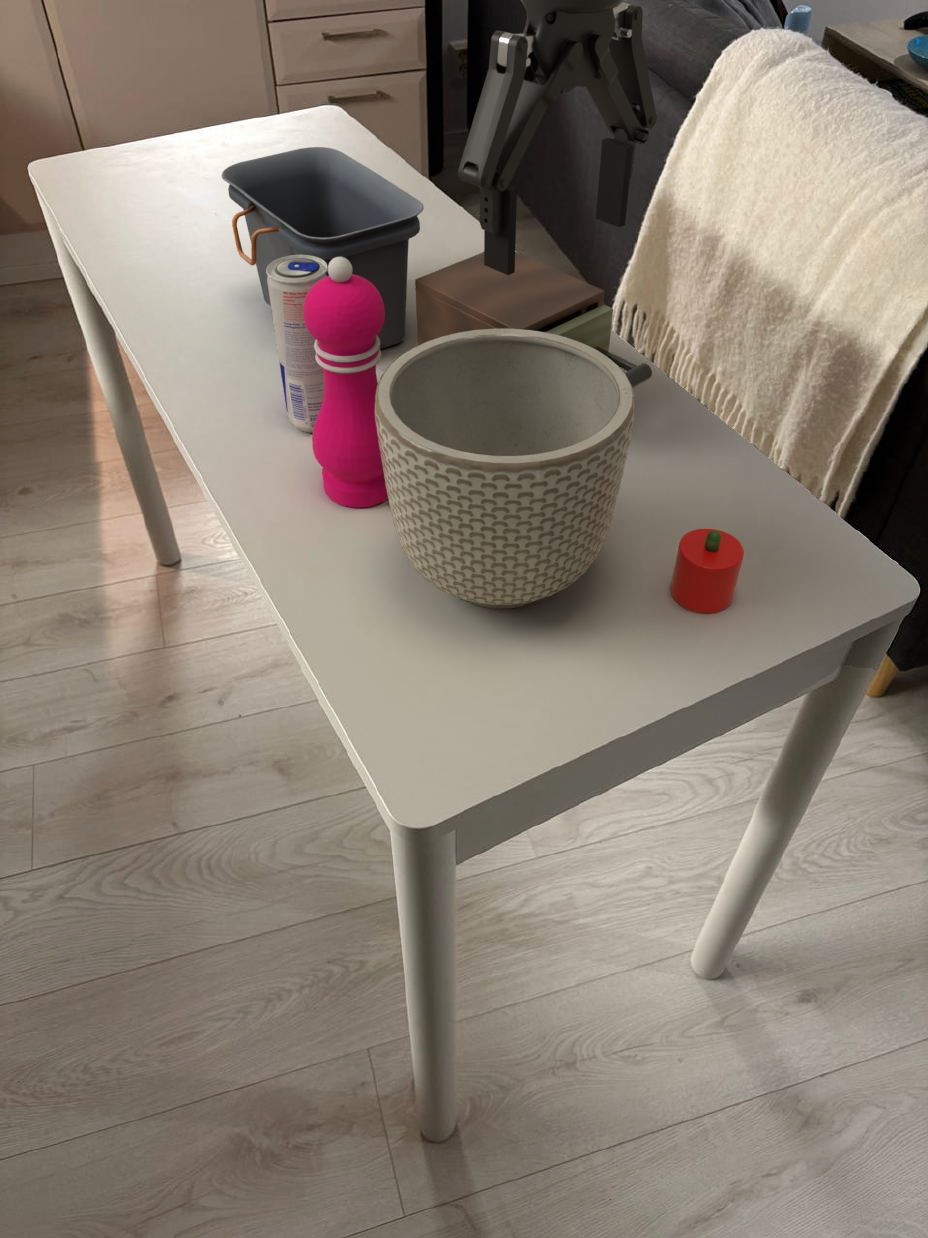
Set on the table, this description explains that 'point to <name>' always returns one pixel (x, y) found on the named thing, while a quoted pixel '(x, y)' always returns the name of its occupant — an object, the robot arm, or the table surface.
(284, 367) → the beverage can
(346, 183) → the storage bin
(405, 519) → the planter
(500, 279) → the cabinet
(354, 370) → the pepper mill
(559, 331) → the drawer
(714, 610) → the pepper
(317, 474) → the table surface
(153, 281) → the table surface
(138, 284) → the table surface
